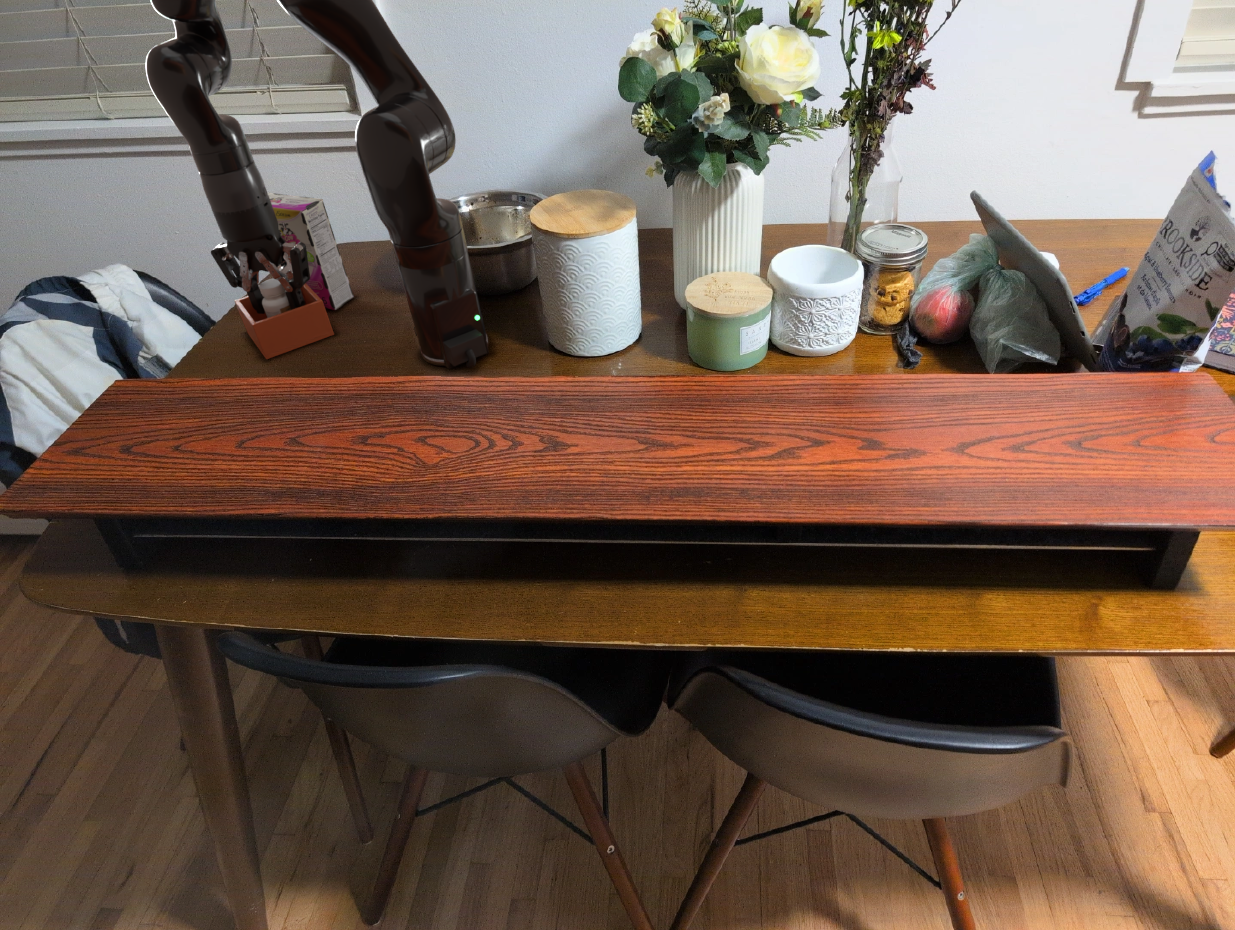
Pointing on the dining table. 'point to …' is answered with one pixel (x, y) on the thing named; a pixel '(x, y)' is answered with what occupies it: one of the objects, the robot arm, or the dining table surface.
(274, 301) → the pill bottle
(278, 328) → the bin
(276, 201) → the candy bar box
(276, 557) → the dining table surface
